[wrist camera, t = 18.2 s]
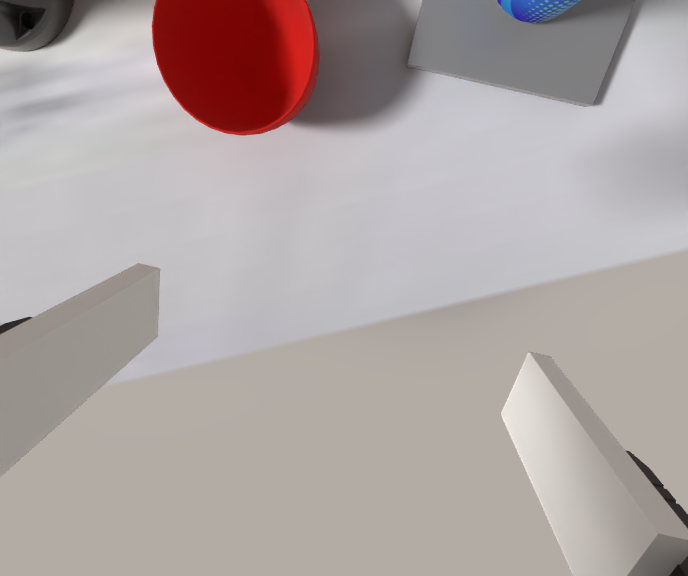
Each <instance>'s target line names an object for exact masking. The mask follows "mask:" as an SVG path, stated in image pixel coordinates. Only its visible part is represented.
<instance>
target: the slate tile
mask: <svg viewBox="0 0 688 576" xmlns="http://www.w3.org/2000/svg"><path fill="white" fill-rule="evenodd" d="M634 3H635V0H581V1H579V2H578V3H576V4H575V5H573V6H572V7H571V8H569V9H568V10H566V11H565V12H563V13H562V14H560V15H559V16H557V17H555V18H552V19H550V20H547V21H544V22H538V23H527V22H522V21H519V20H516V19H514V18H512V17H511V16H509V15H508V14H507V13H506V12H505V11H504V10H503V9H502V8H501V7H500V5H499V4H498V2H497V0H422V3H421V8H420V12H419V16H418V20H417V25H416V29H415V33H414V37H413V42H412V46H411V50H410V54H409V58H408V63H407V67H411V68H416V69H420V70H425V71H429V72H433V73H438V74H442V75H447V76H451V77H456V78H460V79H464V80H469V81H473V82H478V83H482V84H487V85H491V86H495V87H500V88H504V89H509V90H513V91H518V92H522V93H526V94H531V95H535V96H540V97H544V98H549V99H553V100H558V101H562V102H566V103H571V104H575V105H580V106H584V107H585V106H592V105H593V103H594V101H595V98H596V96H597V93H598V91H599V88H600V86H601V83H602V81H603V79H604V76H605V74H606V71H607V69H608V66H609V64H610V61H611V59H612V56H613V54H614V52H615V49H616V47H617V44H618V42H619V39H620V37H621V34H622V32H623V30H624V27H625V25H626V22H627V20H628V17H629V15H630V12H631V10H632V7H633V5H634Z"/></svg>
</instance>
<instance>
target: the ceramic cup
mask: <svg viewBox="0 0 688 576" xmlns="http://www.w3.org/2000/svg"><path fill="white" fill-rule="evenodd" d="M152 36H153V47H154V52H155V57H156V61H157V65H158V67H159V70H160V72H161V75H162V77H163V80H164V82H165V83H166V85H167V87H168V88H169V90H170V92H171V93H172V95H173V97H174V98H175V99H176V100H177V101H178V103H179V104H180V105H181V106H182V107H183V109H184V110H186V111H187V112H188V113H189V114H190V115H191V116H193V117H194V118H195V119H196V120H197V121H199V122H201V123H203V124H204V125H206V126H208V127H210V128H212V129H215V130H218V131H221V132H224V133H227V134H235V135H253V134H261V133H264V132H267V131H270V130H274V129H276V128H278V127H280V126H282V125H284V124H285V123H287V122H289V121H290V120H291V119H292V118H293V117H294V116H295V115H297V114H298V113H299V112H300V111H301V109H302V108H303V107H304V105H305V104H306V102H307V101H308V99H309V97H310V95H311V93H312V91H313V88H314V85H315V81H316V77H317V74H318V63H319V49H318V38H317V33H316V29H315V25H314V22H313V18H312V14H311V11H310V9H309V6H308V4H307V2H306V0H156V2H155V6H154V12H153V21H152Z"/></svg>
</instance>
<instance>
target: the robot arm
mask: <svg viewBox="0 0 688 576" xmlns="http://www.w3.org/2000/svg"><path fill="white" fill-rule="evenodd" d="M72 2H73V0H0V48H2V49H6V50H11V51H30V50H35V49H38V48H40V47H42V46H44V45H46V44H48V43H49V42H51V41H52V40H53V39H54V38H55V37H56V36H57V35H58V34H59V33H60V31H61V30H62V28H63V27H64V25H65V23H66V21H67V19H68V17H69V14H70V11H71V7H72ZM159 283H160V268H157V267H152V266H148V265H144V264H139V263H138V264H136V265H134V266H132V267H130V268H128V269H127V270H125V271H123V272H121V273H119V274H117V275H115V276H113V277H111V278H109V279H107V280H105V281H103V282H101V283H99V284H97V285H95V286H93V287H92V288H90V289H88V290H86V291H84V292H82V293H80V294H78V295H76V296H74V297H72V298H70V299H68V300H66V301H64V302H62V303H60V304H58V305H57V306H55V307H53V308H51V309H49V310H47V311H45V312H43V313H41V314H39V315H37V316H35V317H27V318H23V319H20V320H16V321H12V322H9V323H5V324H3V325H1V326H0V477H1V476H2V475H3V474H4V473H5V472H7V471H8V470H9V469H10V468H11V467H12V466H13V465H14V464H16V463H17V462H18V461H19V460H20V459H21V458H22V457H23V456H24V455H26V454H27V453H28V452H29V451H30V450H31V449H32V448H33V447H34V446H36V445H37V444H38V443H39V442H40V441H41V440H42V439H43V438H45V437H46V436H47V435H48V434H49V433H50V432H51V431H52V430H54V429H55V428H56V427H57V426H58V425H59V424H60V423H61V422H62V421H64V420H65V419H66V418H67V417H68V416H69V415H70V414H72V413H73V412H74V411H75V410H76V409H77V408H78V407H79V406H81V405H82V404H83V403H84V402H85V401H86V400H87V399H88V398H90V397H91V396H92V395H93V394H94V393H95V392H96V391H97V390H98V389H100V388H101V387H102V386H103V385H104V384H105V383H106V382H107V381H109V380H110V379H111V378H112V377H113V376H114V375H115V374H116V373H118V372H119V371H120V370H121V369H122V368H123V367H124V366H125V365H127V364H128V363H129V362H130V361H131V360H132V359H133V358H134V357H135V356H137V355H138V354H139V353H140V352H141V351H142V350H143V349H144V348H146V347H147V346H148V345H149V344H150V343H151V342H152V341H153V340H155V339H156V338H157V337H158V314H159ZM501 416H502V418H503V420H504V423H505V425H506V427H507V429H508V431H509V434H510V436H511V438H512V441H513V443H514V445H515V447H516V450H517V452H518V454H519V456H520V458H521V461H522V463H523V465H524V467H525V470H526V472H527V474H528V476H529V478H530V481H531V483H532V485H533V487H534V490H535V492H536V494H537V496H538V498H539V501H540V503H541V505H542V508H543V509H544V512H545V514H546V516H547V519H548V521H549V523H550V525H551V528H552V530H553V532H554V534H555V537H556V539H557V541H558V543H559V545H560V548H561V550H562V552H563V554H564V557H565V559H566V561H567V563H568V565H569V568H570V570H571V572H572V574H573V576H688V514H686V512H685V511H684V510H683V508H682V507H681V506H680V505H679V504H676V500H675V499H674V498H673V496H672V495H671V494H670V493H669V491H668V490H667V489H664V488H663V486H664V485H663V484H662V483H661V482H660V481H659V479H658V478H657V477H656V476H655V475H654V473H653V472H652V471H651V470H650V469H649V467H647V466H646V465H645V464H644V463H643V462H641V461H640V460H639V459H638V458H637V457H635V456H634V455H633V454H632V453H631V452H629V451H626V450H624V448H623V447H622V446H621V445H620V443H619V442H618V441H617V439H616V438H615V437H614V436H613V434H612V433H611V432H610V431H609V430H608V428H607V427H606V426H605V424H604V423H603V422H602V421H601V420H600V418H599V417H598V416H597V414H596V413H595V412H594V411H593V409H592V408H591V407H590V406H589V404H588V403H587V402H586V401H585V399H584V398H583V397H582V396H581V395H580V393H579V392H578V391H577V389H576V388H575V387H574V386H573V384H572V383H571V382H570V381H569V379H568V378H567V377H566V376H565V374H564V373H563V372H562V370H561V369H560V368H559V367H558V366H557V364H556V363H555V362H554V360H553V359H552V358H551V357H550V356H546V355H541V354H537V353H533V352H528V355H527V357H526V359H525V361H524V364H523V366H522V368H521V370H520V372H519V375H518V377H517V379H516V382H515V384H514V386H513V388H512V390H511V392H510V395H509V397H508V399H507V401H506V404H505V406H504V408H503V410H502V412H501Z"/></svg>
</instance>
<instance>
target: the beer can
mask: <svg viewBox="0 0 688 576" xmlns="http://www.w3.org/2000/svg"><path fill="white" fill-rule="evenodd" d="M579 1H581V0H497V2H498V4H499V5H500V7H501V8H502V9H503V10H504V11H505V12H506V13H507V14H508V15H509V16H511V17H512V18H514V19H516V20H519V21H522V22H527V23H538V22H544V21H547V20H550V19H552V18H555V17H557V16H559V15H560V14H562V13H563V12H565V11H566V10H568V9H569V8H571V7H572V6H573V5H575V4H576V3H578V2H579Z"/></svg>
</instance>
